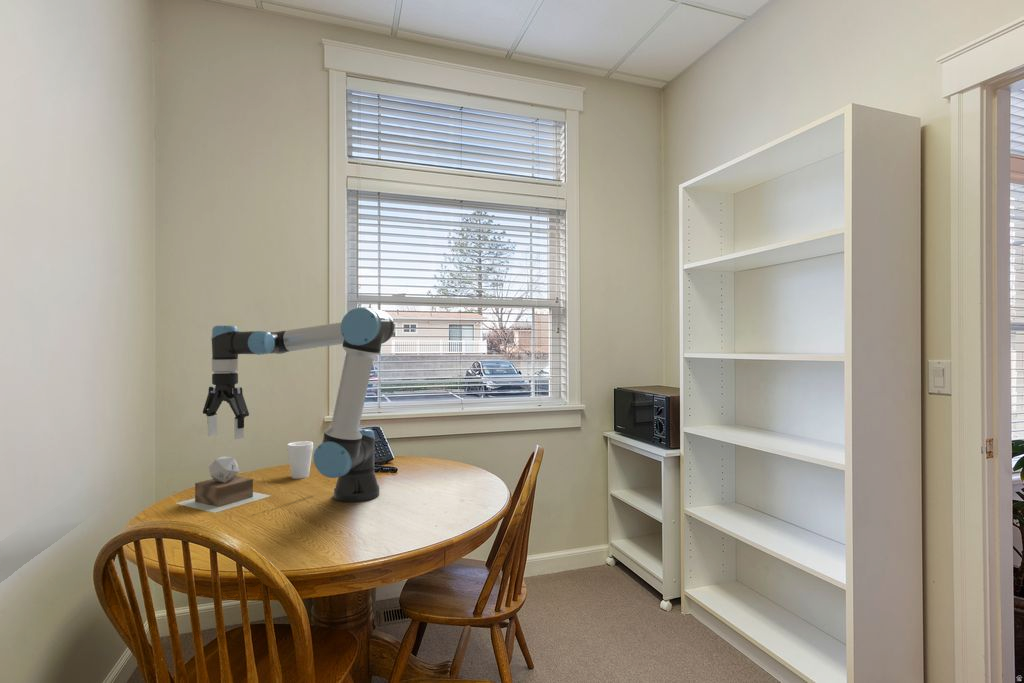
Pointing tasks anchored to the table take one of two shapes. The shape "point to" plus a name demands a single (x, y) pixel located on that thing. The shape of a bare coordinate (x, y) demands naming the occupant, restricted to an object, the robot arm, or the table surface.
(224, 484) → the walnut block
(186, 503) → the base plate
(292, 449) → the foam cup
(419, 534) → the table surface
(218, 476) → the die
